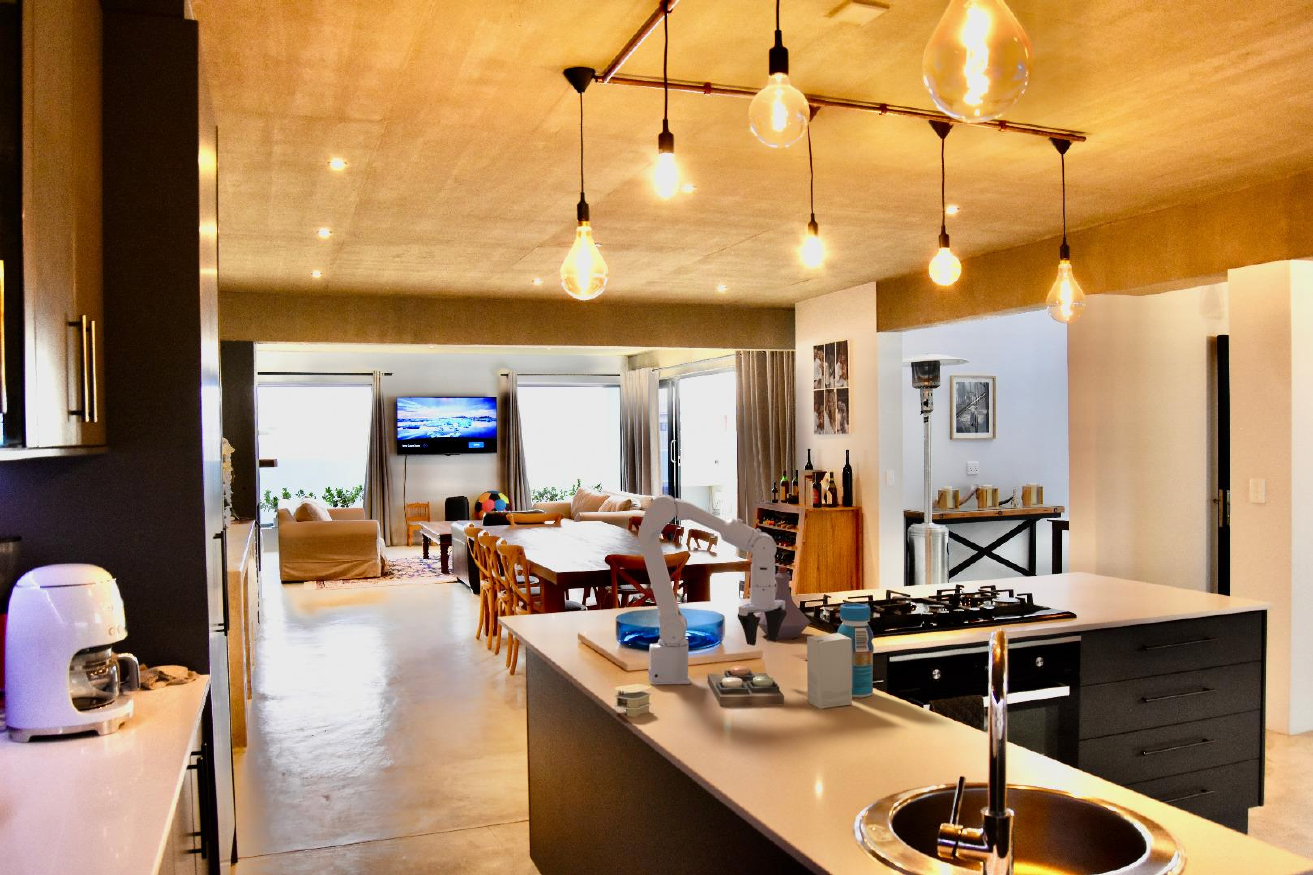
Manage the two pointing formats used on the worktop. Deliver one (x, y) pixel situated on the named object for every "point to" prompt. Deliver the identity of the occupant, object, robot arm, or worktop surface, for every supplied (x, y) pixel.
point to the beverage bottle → (859, 646)
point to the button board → (744, 691)
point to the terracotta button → (739, 670)
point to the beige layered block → (633, 699)
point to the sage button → (762, 681)
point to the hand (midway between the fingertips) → (761, 642)
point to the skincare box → (829, 670)
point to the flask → (786, 609)
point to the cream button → (732, 682)
